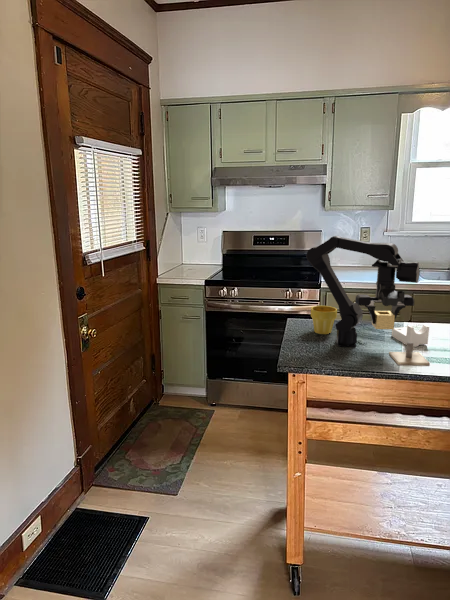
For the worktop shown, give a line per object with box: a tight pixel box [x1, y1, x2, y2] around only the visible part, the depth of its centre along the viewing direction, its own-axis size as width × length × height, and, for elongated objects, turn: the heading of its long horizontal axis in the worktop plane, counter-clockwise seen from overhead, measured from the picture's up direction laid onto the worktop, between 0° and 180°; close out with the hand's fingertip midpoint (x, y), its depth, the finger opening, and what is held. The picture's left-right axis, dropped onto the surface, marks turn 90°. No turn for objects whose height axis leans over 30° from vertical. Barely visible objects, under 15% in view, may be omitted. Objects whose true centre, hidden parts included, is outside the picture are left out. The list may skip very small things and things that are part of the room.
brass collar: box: [371, 310, 396, 330], centre depth 158 cm, size 6×6×5 cm
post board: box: [388, 342, 431, 366], centre depth 151 cm, size 10×10×6 cm
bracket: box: [391, 324, 430, 348], centre depth 170 cm, size 13×7×8 cm, turn 8°
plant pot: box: [310, 305, 338, 335], centre depth 181 cm, size 10×10×10 cm
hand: (382, 323), depth 158 cm, fingers closed on brass collar, 6 cm apart
